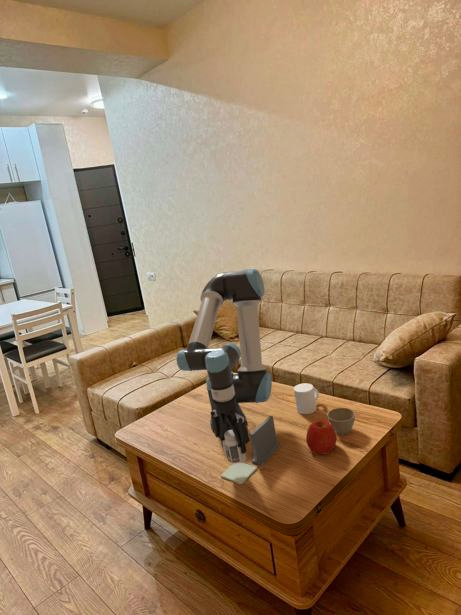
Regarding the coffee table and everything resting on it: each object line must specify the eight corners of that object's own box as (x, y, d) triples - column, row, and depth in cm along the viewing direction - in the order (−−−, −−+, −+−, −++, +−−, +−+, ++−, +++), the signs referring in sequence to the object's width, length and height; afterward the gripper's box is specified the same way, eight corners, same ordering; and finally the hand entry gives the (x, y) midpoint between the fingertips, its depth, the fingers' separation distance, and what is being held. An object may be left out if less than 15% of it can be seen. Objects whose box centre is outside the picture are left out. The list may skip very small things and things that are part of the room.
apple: (339, 457, 143) (336, 429, 140) (308, 458, 145) (304, 432, 142) (336, 438, 153) (333, 413, 150) (307, 440, 155) (303, 415, 153)
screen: (252, 462, 148) (246, 433, 145) (271, 443, 158) (267, 414, 155) (261, 465, 146) (255, 435, 143) (280, 445, 155) (276, 417, 152)
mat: (221, 476, 144) (220, 475, 144) (236, 462, 150) (236, 460, 150) (241, 484, 138) (241, 483, 138) (257, 468, 145) (256, 467, 144)
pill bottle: (246, 454, 144) (242, 429, 141) (240, 465, 139) (235, 438, 136) (232, 453, 146) (227, 428, 144) (225, 463, 141) (219, 437, 139)
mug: (289, 389, 175) (308, 378, 182) (293, 410, 178) (311, 399, 185) (304, 394, 169) (323, 382, 176) (307, 416, 171) (326, 404, 178)
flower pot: (358, 437, 151) (356, 420, 150) (330, 439, 154) (327, 422, 152) (355, 423, 161) (353, 406, 159) (329, 424, 163) (327, 408, 161)
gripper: (195, 397, 140) (208, 457, 146) (239, 407, 128) (251, 472, 134) (210, 388, 146) (222, 446, 151) (253, 396, 134) (264, 459, 139)
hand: (235, 458), depth 142 cm, fingers closed on pill bottle, 6 cm apart
